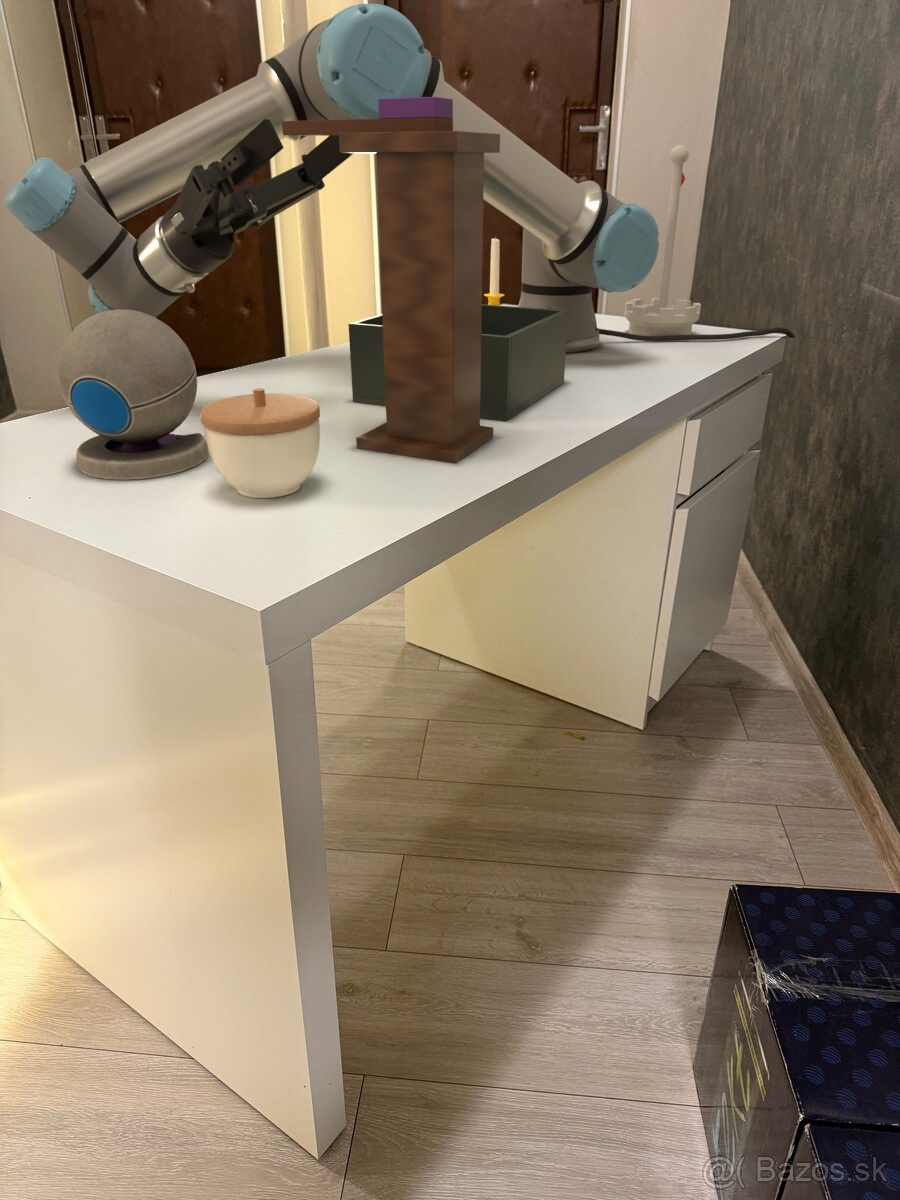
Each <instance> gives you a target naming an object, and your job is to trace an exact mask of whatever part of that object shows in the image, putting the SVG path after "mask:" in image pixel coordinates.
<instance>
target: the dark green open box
mask: <svg viewBox="0 0 900 1200" xmlns="http://www.w3.org/2000/svg"><path fill="white" fill-rule="evenodd" d="M567 325H568V310H556V309H542V308H527V307H518V306H513V305H500V306H499V305H488V304H482V318H481V383H480V419H486V420H493V421H500V422H501V421H502V422H507V421H509V420H510V419H512V418H514V417H515V416H517V415H518V414H520V413H521V412H523V411H524V410H525V409H527V408H528V407H530V406H531V405H533V404H535V403H536V402H538V401H539V400H540V399H542V398H543V397H545V396H547V395H548V394H549V393H551V392H552V391H554V390H555V389H557V388H559V387H560V386H561V385H563V384H564V383H565V374H566V373H565V371H566V356H567V352H566V341H567ZM348 340H349V341H348V343H349V357H350V360H349V361H350V374H351V375H350V376H351V392H352V393H351V395H352V403H353V402H354V403H359V404H369V405H374V406H375V405H376V406H384V407H386V397H385V371H384V344H383V318H382V313H379V314H377V315H374V316H370V317H367V318H366V317H365V318H362V319H359V320H356V321H353V322H350V323H348Z"/></svg>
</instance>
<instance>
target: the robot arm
mask: <svg viewBox="0 0 900 1200" xmlns="http://www.w3.org/2000/svg"><path fill="white" fill-rule="evenodd" d="M416 97H441V98H448V99H453V131H464V132H479V133H494V134H500V152H499V153H484V188H483V201H485V202H487V203H488V204H489V205H491V206H493V207H494V208H495V209H496V210H498V211H500V212H501V213H502V214H504V215H505V216H507V217H509V218H510V219H511V220H513V221H514V222H515V223H517V224H519V225H520V226H521V227H522V253H521V254H522V255H521V257H522V260H521V289H520V299H519V302H518V304H517V307H527V308H542V309H556V310H568V325H567V341H566V353H579V352H586V351H591V350H593V349H596V348H598V347H599V346H600V336H601V335H603V336H610V337H617V338H622V339H627V340H633V341H642V342H666V341H667V342H669V341H714V340H715V341H717V340H718V341H719V340H734V339H741V338H747V337H748V338H749V337H760V336H767V335H772V334H778V333H780V334H783V335H786V336H787V337H788V338H792V339H795V338H796V335H795V334H794V333H793V331H792V330H790V329H788V328H786V327H780V326H779V327H771V328H767V329H761V330H751V331H750V330H748V331H742V332H741V331H740V332H733V333H720V334H719V333H718V334H717V333H716V334H691V335H666V336H643V335H634V334H629V332H625V331H624V332H623V331H617V330H611V329H606V328H605V329H603V328H599V327H598V324H597V317H596V312H595V308H594V304H593V299H592V298H593V297H592V295H593V293H592V292H593V288H594V289H598V290H601V291H603V292H605V293H625V292H629V291H631V290H633V289H634V288H636V287H638V286H639V285H640V284H641V283H643V282H644V281H645V279H646V278H647V277H648V275H649V274H650V273H651V271H652V269H653V267H654V265H655V263H656V260H657V258H658V253H659V247H660V242H659V235H660V231H659V227H658V224H657V221H656V219H655V217H654V216H653V214H652V213H651V211H649V210H648V209H646V208H645V207H643V206H640V205H637V204H636V203H624V202H622V201H620V200H619V199H617V198H616V197H615V196H614V195H613V194H611V193H610V192H608V191H607V190H606V189H605V188H603V187H602V186H601V185H600V184H598V183H597V182H596V181H593V180H585V181H582V182H579V183H578V182H576V181H575V180H574V179H572V178H571V177H569V176H568V175H567V174H566V173H564V172H563V171H562V170H560V169H559V168H558V167H557V166H556V165H554V164H553V163H551V162H550V161H549V160H548V159H547V158H545V157H544V156H543V155H541V154H540V153H538V152H537V151H536V150H535V149H533V148H532V147H531V146H529V145H528V144H527V143H525V142H524V141H523V140H522V139H520V138H519V137H518V136H517V135H515V134H514V133H513V132H511V131H510V129H508V128H507V127H505V126H503V125H502V124H501V123H500V122H498V121H497V120H496V119H494V118H493V117H492V116H490V115H489V114H488V113H487V112H485V111H484V110H482V108H480V107H479V106H478V105H476V104H475V103H474V102H472V101H471V100H470V99H468V98H467V97H466V96H465V95H463V94H462V93H461V92H459V90H457V89H455V88H454V87H453V86H452V85H450V84H449V83H448V82H446V81H445V75H444V69H443V64H442V61H441V60H440V59H439V58H438V57H437V56H435V55H434V54H433V53H432V52H430V51H429V50H428V49H427V48H425V47H424V41H423V38H422V37H421V35H420V33H419V32H418V30H417V28H416V27H415V26H414V24H413V23H412V22H411V21H410V20H409V19H408V18H407V17H406V16H405V15H404V14H402V12H400V11H398V10H396V9H395V8H392V7H390V6H388V5H385V4H379V3H359V4H353V5H350V6H348V7H345V8H343V9H342V10H340V11H338V12H337V13H336V14H334V15H333V16H332V17H330V18H328V19H326V20H325V19H324V20H323V21H321V22H319V23H317V24H316V25H314V26H313V27H312V28H311V29H309V30H308V31H307V32H305V34H303V35H302V36H301V37H299V38H298V39H297V40H295V41H294V42H293V43H291V45H289V46H287V47H286V48H285V49H283V50H281V52H279V53H277V54H275V55H274V56H272V57H270V58H268V59H266V60H265V61H262V62H260V63H259V64H258V69H257V73H256V75H254V76H253V77H251V78H250V79H247V80H246V81H244V82H242V83H239V84H238V85H236V86H234V87H232V88H230V89H228V90H226V91H223V92H222V93H219V94H218V95H216V96H214V97H212V98H210V99H208V100H206V101H204V102H202V103H200V104H198V105H196V106H194V107H192V108H190V109H188V110H187V111H183V113H180V114H179V115H177V116H174V117H173V118H170V119H169V120H166V121H164V122H162V123H161V124H158V125H156V126H155V127H153V128H151V129H149V130H147V131H145V132H143V133H141V134H139V135H137V136H134V137H133V138H131V139H129V140H127V141H125V142H123V143H121V144H118V145H117V146H115V147H113V148H111V149H110V150H109V149H108V150H107V151H104V152H103V153H102V154H99V155H97V156H96V157H95V156H94V158H92V159H89V160H88V161H86V162H84V163H82V164H80V165H79V166H76V167H73V168H71V169H70V170H68V171H65V170H63V168H61V166H59V165H58V164H57V163H56V162H54V161H53V160H52V159H51V158H49V157H44V156H43V157H40V158H37V160H36V161H35V162H34V163H33V164H32V165H31V167H30V168H29V169H28V170H27V171H26V172H25V174H24V175H23V176H22V177H21V178H20V179H19V181H18V182H16V184H15V185H14V186H13V187H12V189H10V191H9V192H8V193H7V194H6V196H5V197H4V206H5V208H6V209H7V210H8V212H9V213H10V214H12V215H13V216H14V217H15V218H16V219H17V220H18V222H20V223H21V225H22V226H23V227H24V229H26V230H27V231H28V232H31V233H32V234H33V235H34V236H35V237H36V238H38V239H39V240H40V241H41V242H42V243H44V244H45V245H46V246H47V247H48V248H49V249H51V250H52V251H53V252H54V253H56V255H58V256H59V257H60V258H61V259H63V260H64V262H66V263H67V264H69V266H71V267H72V268H73V269H74V270H76V271H77V272H78V273H79V274H80V275H81V276H82V277H83V278H84V279H85V281H86V282H88V283H89V286H88V290H87V293H88V300H89V303H90V305H91V307H93V308H94V309H95V311H96V314H98V313H100V312H104V311H108V310H118V309H124V310H134V311H138V312H143V313H145V314H148V315H151V316H153V317H155V318H156V319H158V317H159V316H160V315H161V314H162V313H163V312H165V310H166V309H167V308H168V307H170V306H171V305H172V304H174V303H175V302H176V301H177V300H178V299H179V298H180V297H182V296H183V295H184V294H186V293H188V294H190V293H194V292H195V291H196V288H195V285H196V284H197V283H199V282H200V281H201V280H203V279H204V278H205V277H206V276H208V275H209V274H210V273H212V272H214V271H215V270H216V269H217V268H218V267H220V266H221V265H222V264H223V263H224V262H226V261H227V260H228V259H230V257H232V254H233V252H234V248H235V237H234V236H235V234H239V233H241V232H243V231H245V230H247V229H248V226H251V229H253V230H255V229H259V228H261V226H262V225H263V224H265V223H266V222H268V221H269V220H271V219H273V218H274V217H275V216H278V215H279V214H281V213H283V212H285V211H286V210H288V209H290V208H291V207H293V206H294V205H296V204H298V203H299V202H301V201H303V200H305V199H306V198H308V197H310V196H311V195H313V194H315V193H317V192H319V191H321V190H323V189H324V188H325V186H326V184H325V181H324V180H323V179H324V178H325V177H327V176H328V175H329V174H330V173H332V172H333V171H334V170H335V169H337V168H338V167H339V166H340V165H341V164H343V163H344V162H346V161H347V160H348V159H349V158H350V157H352V156H353V155H354V154H355V153H341V152H340V143H339V135H333V136H327V137H325V139H324V140H323V141H321V142H319V143H318V144H317V145H316V146H315V147H314V148H313V149H311V150H310V151H309V152H308V153H307V154H306V153H305V154H302V155H301V161H302V163H299V164H297V165H296V166H294V167H292V168H289V169H288V170H285V171H283V172H281V173H279V174H277V175H275V176H273V177H271V178H270V179H267V180H264V181H263V182H261V183H258V184H257V185H254V184H253V183H248V184H246V185H243V184H244V183H245V182H246V181H248V179H250V178H251V177H252V176H253V175H255V174H256V173H257V172H258V171H259V170H260V169H261V168H263V166H264V165H266V164H267V163H268V162H269V161H270V160H272V159H273V158H274V157H275V156H276V155H277V154H279V152H282V150H283V149H284V145H283V143H282V140H284V139H288V140H291V141H292V142H298V141H301V140H302V139H304V138H307V136H292V135H283V129H282V121H309V120H350V119H379V106H378V99H387V98H416ZM231 182H232V183H233V185H234V187H239V188H237V189H235V190H234V188H233V185H232V184H231ZM242 185H243V186H242ZM178 193H179V196H178V197H177V200H176V201H175V203H174V205H172V206H171V208H169V209H168V210H167V211H166V212H165V213H164V215H162V216H160V217H159V218H158V219H156V220H155V222H153V223H152V224H150V225H149V227H148V228H147V229H146V230H144V231H143V232H142V233H141V234H140V236H139V237H137V239H136V238H135V236H133V235H132V234H131V233H130V232H129V231H128V230H127V229H126V228H125V227H124V226H122V225H121V224H120V223H122V222H124V221H126V220H128V219H129V218H132V217H134V216H136V215H138V214H140V213H142V212H143V211H145V210H148V209H149V208H151V207H153V206H155V205H157V204H159V203H161V202H163V201H165V200H167V199H169V198H171V197H173V196H175V195H176V194H178ZM248 195H249V196H250V197H251V199H250V198H249V196H248Z"/></svg>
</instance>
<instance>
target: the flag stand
mask: <svg viewBox="0 0 900 1200" xmlns="http://www.w3.org/2000/svg"><path fill="white" fill-rule="evenodd" d="M689 153H690V152H689V149H688V147H687V146H686V145H684V144H678V145H675V146H674V147H673V148H672V149H671V151H670V155H669V157H670V161H671V162H672V164H673V166H672V167H673V168H672V175H671V176H672V177H671V185H670V194H669V195H670V196H669V205H668V213H667V221H666V231H665V240H664V250H663V259H662V268H661V274H660V275H661V277H660V285H659V287H660V288H659V294H658V297H652V298H651V304H644V299H642V298H634V299H633V298H632V299H630V301H625V306H624V314H623V315H624V318H625V319H626V320H627V321H628V322H629V326H628V333H629V334H634V335H643V336H666V335H692V329H693V325H694V324H695V323H696V322H697V321H699V319H700V314H701V308H702V307H701V306H702V304H701V303H700V302H692V300H688V299H680V298H679V299H677V300H676V305H675V304H668V298H669V290H670V282H671V274H672V264H673V257H674V256H673V255H674V248H675V240H676V239H675V238H676V231H677V230H676V229H677V220H678V211H679V204H680V196H681V195H680V194H681V188H682V186H683V184H684V182H685V180H686V177H685V174H684V172H683V168H684V164H685V163H686V162H687V161H688V159H689V157H690V155H689Z"/></svg>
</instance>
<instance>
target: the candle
mask: <svg viewBox="0 0 900 1200" xmlns="http://www.w3.org/2000/svg"><path fill="white" fill-rule="evenodd" d="M494 237H495V238H491V242H490V243H491V244H490V267H489V268H490V269H489V272H490V273H489V293H484V294H483V296H484V297H486V298H487V300H488V303H487V305H499V306H501V303H500V300H501V298H502V297H505V294H504V293H500V254H501V253H500V250H501V249H500V247H501V246H500V245H501V244H500V243H501V242H500V239H498V238H497V236H496V235H495V236H494Z"/></svg>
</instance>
